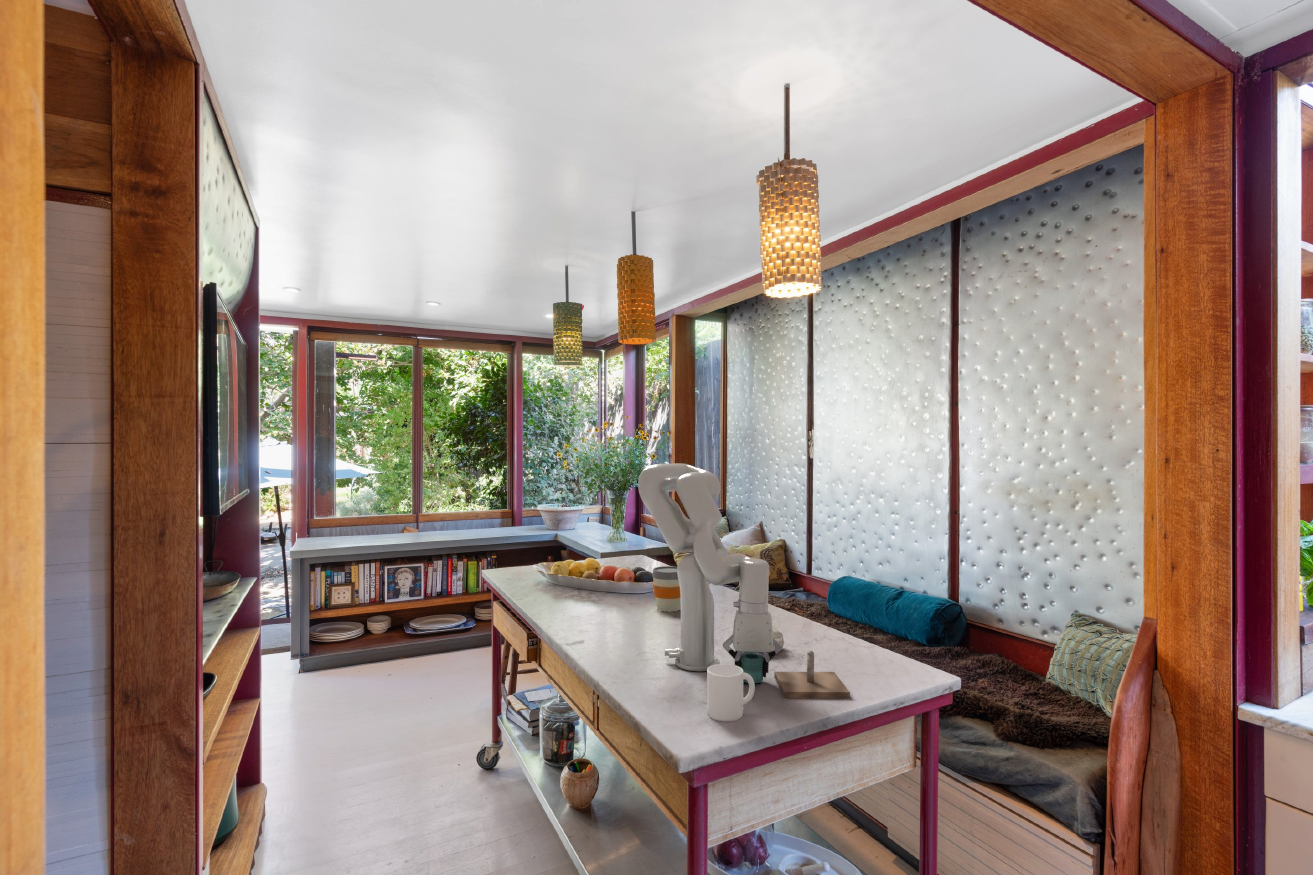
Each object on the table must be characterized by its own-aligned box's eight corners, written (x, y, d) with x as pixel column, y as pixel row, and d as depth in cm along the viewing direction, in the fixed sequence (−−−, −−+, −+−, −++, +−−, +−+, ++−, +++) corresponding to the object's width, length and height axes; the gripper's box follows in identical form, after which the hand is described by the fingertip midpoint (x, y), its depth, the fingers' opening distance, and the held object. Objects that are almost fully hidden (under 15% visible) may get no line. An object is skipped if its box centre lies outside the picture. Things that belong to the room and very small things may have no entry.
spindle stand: (784, 697, 156) (784, 659, 156) (774, 677, 170) (774, 641, 170) (849, 698, 156) (849, 659, 156) (834, 677, 170) (834, 642, 170)
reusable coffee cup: (691, 607, 243) (691, 568, 243) (674, 614, 232) (674, 573, 233) (663, 603, 250) (663, 564, 250) (645, 610, 239) (645, 570, 239)
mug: (745, 702, 153) (745, 659, 153) (764, 716, 146) (764, 671, 146) (701, 710, 149) (701, 666, 149) (717, 724, 141) (717, 678, 141)
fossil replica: (790, 649, 194) (760, 646, 199) (789, 621, 195) (758, 619, 200) (776, 657, 184) (744, 654, 189) (775, 627, 185) (743, 625, 190)
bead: (741, 682, 164) (741, 659, 164) (738, 673, 170) (738, 651, 170) (764, 683, 164) (765, 660, 164) (760, 674, 170) (761, 652, 170)
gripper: (721, 609, 163) (719, 679, 163) (789, 611, 163) (786, 681, 163) (719, 601, 170) (716, 668, 171) (783, 603, 170) (781, 670, 171)
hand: (751, 674), depth 167 cm, fingers closed on bead, 6 cm apart
